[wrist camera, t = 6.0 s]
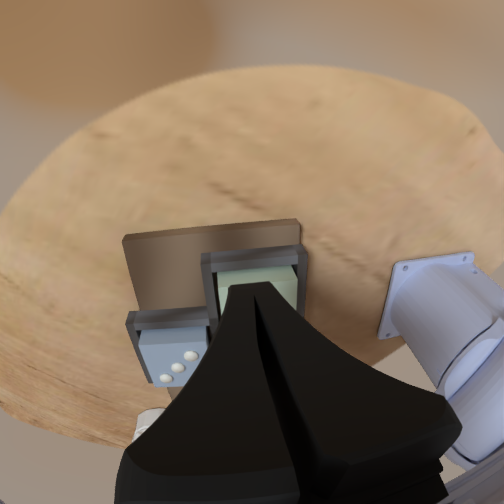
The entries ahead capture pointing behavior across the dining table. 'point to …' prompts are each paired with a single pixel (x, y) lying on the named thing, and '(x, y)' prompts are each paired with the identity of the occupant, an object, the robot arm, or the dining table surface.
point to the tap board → (202, 272)
